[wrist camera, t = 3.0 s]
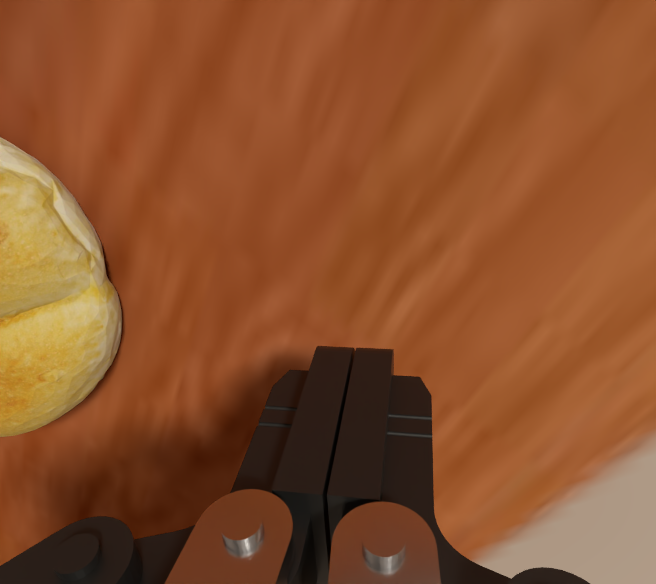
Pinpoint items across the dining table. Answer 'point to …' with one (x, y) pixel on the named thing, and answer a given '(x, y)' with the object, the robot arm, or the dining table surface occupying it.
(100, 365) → the bread roll
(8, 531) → the dining table surface
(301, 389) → the robot arm
